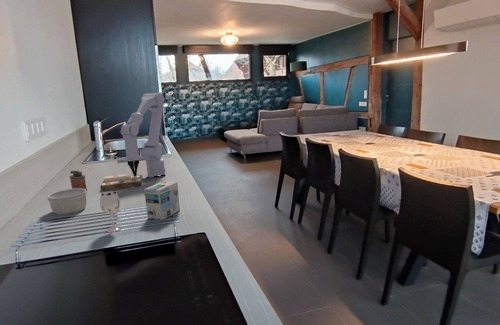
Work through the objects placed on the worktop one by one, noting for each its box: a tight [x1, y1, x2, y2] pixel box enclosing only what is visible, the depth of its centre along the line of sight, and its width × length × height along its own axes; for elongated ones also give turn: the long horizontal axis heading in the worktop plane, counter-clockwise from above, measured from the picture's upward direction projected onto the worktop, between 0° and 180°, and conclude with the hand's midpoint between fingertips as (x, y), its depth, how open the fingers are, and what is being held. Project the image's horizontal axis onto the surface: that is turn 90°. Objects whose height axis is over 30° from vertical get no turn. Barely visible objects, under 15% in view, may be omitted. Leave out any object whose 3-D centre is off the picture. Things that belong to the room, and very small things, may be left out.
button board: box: [99, 174, 144, 192], centre depth 164 cm, size 18×15×2 cm
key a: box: [130, 174, 141, 180], centre depth 167 cm, size 4×4×3 cm
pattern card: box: [101, 179, 140, 185], centre depth 160 cm, size 17×4×1 cm, turn 106°
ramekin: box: [47, 188, 88, 216], centre depth 130 cm, size 13×13×7 cm
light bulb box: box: [143, 180, 181, 221], centre depth 119 cm, size 11×7×11 cm, turn 157°
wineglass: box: [99, 190, 122, 233], centre depth 107 cm, size 6×6×12 cm
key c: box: [103, 175, 115, 182], centre depth 164 cm, size 4×4×3 cm
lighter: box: [69, 170, 88, 192], centre depth 156 cm, size 8×3×10 cm, turn 71°
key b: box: [117, 173, 128, 181], centre depth 166 cm, size 4×4×3 cm
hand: (135, 175), depth 167 cm, fingers closed
